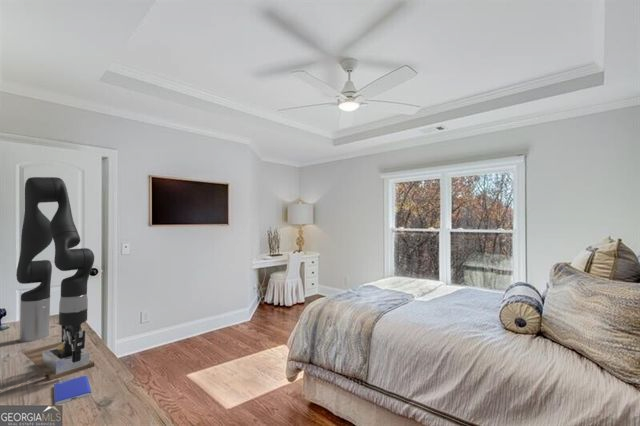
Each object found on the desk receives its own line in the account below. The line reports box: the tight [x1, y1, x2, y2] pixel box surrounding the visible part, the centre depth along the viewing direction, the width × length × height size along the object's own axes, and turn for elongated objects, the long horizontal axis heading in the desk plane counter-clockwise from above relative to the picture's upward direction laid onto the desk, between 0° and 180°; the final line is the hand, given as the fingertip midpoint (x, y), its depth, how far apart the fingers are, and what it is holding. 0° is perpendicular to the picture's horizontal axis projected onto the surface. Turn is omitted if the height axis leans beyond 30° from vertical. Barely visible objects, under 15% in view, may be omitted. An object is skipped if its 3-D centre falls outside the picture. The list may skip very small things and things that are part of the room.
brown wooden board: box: [22, 341, 95, 381], centre depth 114 cm, size 32×12×1 cm, turn 55°
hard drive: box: [53, 375, 92, 406], centre depth 94 cm, size 2×8×12 cm
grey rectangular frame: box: [42, 344, 90, 374], centre depth 109 cm, size 14×9×4 cm, turn 55°
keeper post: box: [57, 342, 66, 359], centre depth 110 cm, size 3×3×6 cm
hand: (72, 358), depth 105 cm, fingers open, 6 cm apart
